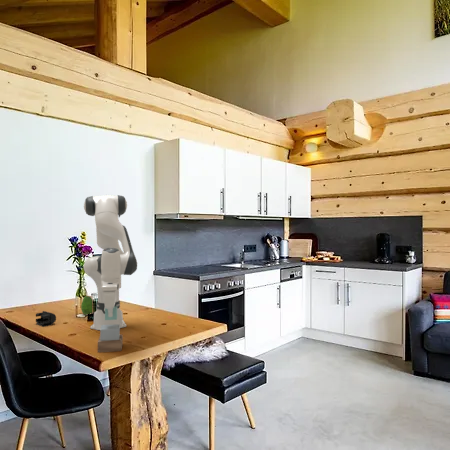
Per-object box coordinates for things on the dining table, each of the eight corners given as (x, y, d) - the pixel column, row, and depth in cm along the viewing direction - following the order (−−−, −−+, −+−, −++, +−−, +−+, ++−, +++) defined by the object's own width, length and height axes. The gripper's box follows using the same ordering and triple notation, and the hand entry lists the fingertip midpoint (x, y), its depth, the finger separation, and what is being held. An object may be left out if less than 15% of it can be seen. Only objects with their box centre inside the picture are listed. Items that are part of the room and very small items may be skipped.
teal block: (105, 317, 179) (105, 306, 179) (117, 317, 180) (117, 306, 180) (104, 320, 174) (104, 308, 174) (116, 319, 175) (116, 308, 175)
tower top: (101, 336, 180) (101, 325, 180) (119, 335, 182) (119, 324, 182) (100, 341, 173) (100, 329, 173) (119, 339, 174) (119, 328, 174)
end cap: (56, 324, 221) (56, 312, 221) (43, 327, 215) (43, 314, 215) (47, 321, 227) (47, 310, 227) (35, 324, 221) (35, 312, 222)
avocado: (78, 316, 242) (78, 296, 242) (85, 313, 249) (85, 294, 249) (90, 316, 240) (90, 296, 240) (96, 313, 248) (96, 294, 248)
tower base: (100, 346, 181) (100, 335, 181) (122, 345, 183) (122, 334, 183) (97, 353, 171) (97, 341, 171) (121, 351, 173) (121, 340, 173)
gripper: (105, 281, 187) (105, 310, 187) (101, 287, 167) (101, 320, 167) (119, 281, 188) (119, 310, 188) (117, 287, 168) (117, 319, 168)
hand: (111, 315), depth 177 cm, fingers closed on teal block, 5 cm apart
